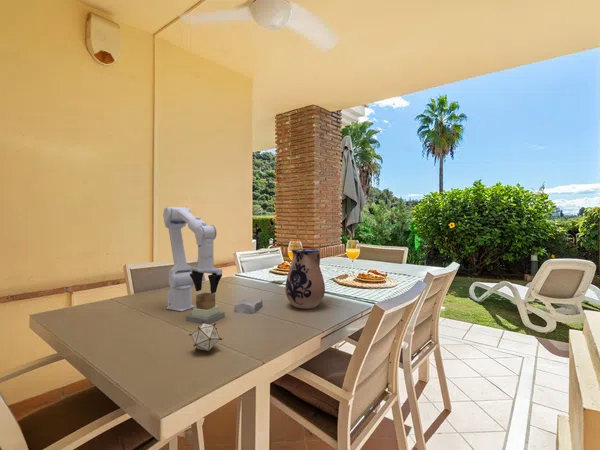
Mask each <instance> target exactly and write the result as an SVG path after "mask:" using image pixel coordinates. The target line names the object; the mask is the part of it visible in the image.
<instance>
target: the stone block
mask: <svg viewBox="0 0 600 450" xmlns="http://www.w3.org/2000/svg"><path fill="white" fill-rule="evenodd" d="M262 307H263V299H259V298H253V297H252V298H246V299H242V300H241V301H239V302H237V304H235V305H234V308H233V309H234V311H235V313H238V314H255V313H256V312H258V310H259V309H261V308H262Z"/></svg>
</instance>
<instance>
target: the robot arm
mask: <svg viewBox="0 0 600 450" xmlns="http://www.w3.org/2000/svg"><path fill="white" fill-rule="evenodd" d="M162 216H163V221H164V222H163V223H164V227H165V228H166V229H168V234H169V240H170V245H171V246H170V247H171V253H172V259H173V260H172V261H173V266H172V267H171V268H170V269H169V271H168V285H169V286H170V288H169V290H168V291H167V307H166V309H167V310H173V311H178V312H184V311H187V310H191V309H194V308H196V304H195V305H194V304H192V288H193V287H194V289H195V291H196V292H199V291H202V288H203V287H202V285H203V277H204V274H209V275H207V278H208V281H209V287H210V293H214V294H216V293H217V289H218V285H219V283H220V281H221V278H222V276H223V268H218V267H214V264H215V263H214V240H215V239H216V237H217V228H216V227H215V225H214V224H210V225H209V224H207V223H206V221H204V220H202V219H201V217H200V216H194V215H193V214H192V212H191V209H190V208H189V207H188V206H182V207H181V206H166V207H165V208H164V210H163V215H162ZM186 225H187V227H188V229H190V231H192V233H193V234H194V237H195V241H196V246H197V266H196V265H195V266H194V265H193V266H191V265H189V264H188V263H187V258H186V251H185V245H184V240H183V234H182V229H183V228H184V227H186Z"/></svg>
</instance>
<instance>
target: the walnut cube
mask: <svg viewBox="0 0 600 450" xmlns="http://www.w3.org/2000/svg"><path fill="white" fill-rule="evenodd" d="M195 296H196V297H195V305H196V307H195V308H197V309H204V310H208V309H210V308H213V307H215V306H216V293H211V292H206V291H205V292H202V293H199V294H196V295H195Z"/></svg>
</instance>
